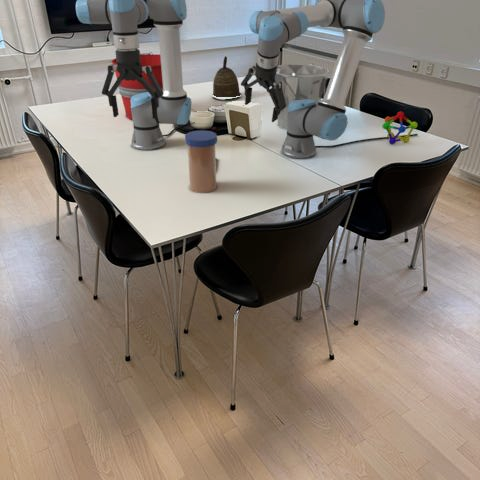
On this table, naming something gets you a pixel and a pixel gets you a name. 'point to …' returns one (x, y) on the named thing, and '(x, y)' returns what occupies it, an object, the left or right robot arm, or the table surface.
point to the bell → (225, 82)
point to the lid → (201, 138)
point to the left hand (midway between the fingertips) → (135, 116)
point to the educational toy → (398, 128)
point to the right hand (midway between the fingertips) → (261, 111)
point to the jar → (202, 168)
